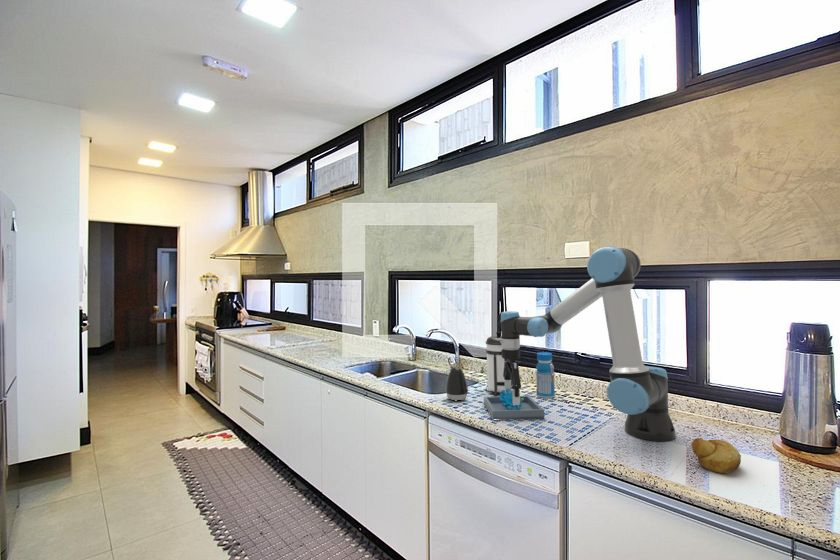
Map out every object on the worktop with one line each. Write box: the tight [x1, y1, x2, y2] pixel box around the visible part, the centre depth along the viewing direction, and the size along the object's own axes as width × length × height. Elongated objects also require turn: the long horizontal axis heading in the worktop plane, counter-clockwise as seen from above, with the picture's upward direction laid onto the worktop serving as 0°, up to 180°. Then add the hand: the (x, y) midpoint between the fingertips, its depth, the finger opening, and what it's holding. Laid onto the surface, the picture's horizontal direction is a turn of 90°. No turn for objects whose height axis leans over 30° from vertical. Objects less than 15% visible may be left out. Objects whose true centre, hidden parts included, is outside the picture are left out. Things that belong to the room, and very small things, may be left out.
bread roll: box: [691, 437, 742, 474], centre depth 110 cm, size 13×10×8 cm
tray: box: [483, 395, 545, 420], centre depth 162 cm, size 20×20×4 cm
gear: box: [498, 389, 524, 410], centre depth 163 cm, size 11×6×10 cm
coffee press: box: [484, 330, 513, 397], centre depth 190 cm, size 17×16×30 cm
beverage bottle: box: [535, 351, 556, 399], centre depth 183 cm, size 8×8×20 cm
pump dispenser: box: [445, 366, 469, 401], centre depth 181 cm, size 10×10×15 cm
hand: (512, 399), depth 162 cm, fingers open, 13 cm apart
